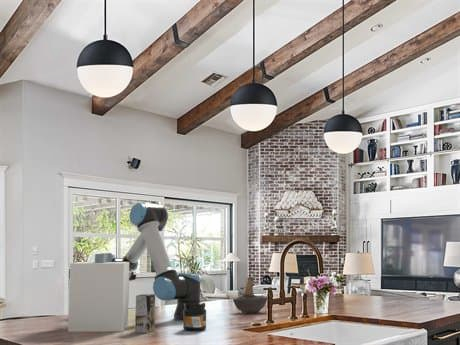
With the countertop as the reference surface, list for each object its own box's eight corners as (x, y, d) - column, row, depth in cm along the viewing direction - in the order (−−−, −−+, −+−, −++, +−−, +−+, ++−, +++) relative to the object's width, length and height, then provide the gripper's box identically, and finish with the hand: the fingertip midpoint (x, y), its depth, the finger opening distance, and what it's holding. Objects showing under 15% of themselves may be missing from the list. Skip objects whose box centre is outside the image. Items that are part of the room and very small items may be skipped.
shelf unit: (128, 325, 298) (129, 261, 301) (122, 331, 277) (123, 263, 280) (77, 325, 297) (79, 261, 300) (68, 331, 276) (70, 263, 280)
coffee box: (148, 333, 272) (149, 295, 274) (134, 332, 274) (135, 295, 276) (155, 330, 281) (155, 293, 283) (141, 329, 283) (142, 293, 284)
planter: (269, 312, 354) (268, 276, 356) (254, 315, 340) (254, 277, 342) (246, 310, 362) (246, 275, 364) (231, 313, 348) (231, 277, 350)
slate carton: (111, 261, 310) (111, 252, 310) (103, 262, 286) (103, 253, 287) (103, 261, 310) (103, 252, 310) (94, 262, 286) (95, 253, 286)
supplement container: (197, 332, 275) (197, 304, 276) (178, 330, 281) (178, 303, 282) (210, 329, 284) (210, 302, 285) (191, 327, 290) (192, 301, 291)
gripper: (135, 291, 333) (140, 281, 314) (89, 278, 329) (91, 268, 311) (139, 278, 336) (144, 267, 317) (94, 265, 333) (96, 254, 314)
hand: (118, 268), depth 314 cm, fingers open, 13 cm apart
